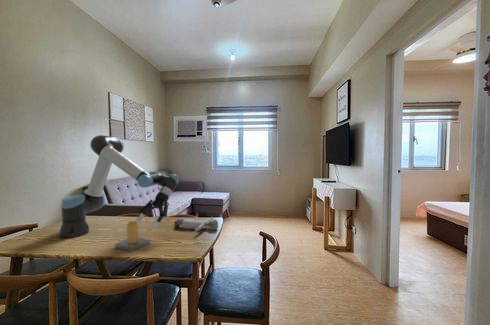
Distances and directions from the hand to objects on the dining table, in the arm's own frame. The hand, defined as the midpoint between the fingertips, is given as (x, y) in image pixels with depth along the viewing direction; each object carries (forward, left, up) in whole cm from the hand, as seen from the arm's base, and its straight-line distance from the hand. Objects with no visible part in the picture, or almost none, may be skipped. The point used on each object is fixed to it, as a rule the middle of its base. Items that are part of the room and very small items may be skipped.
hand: (145, 225), depth 129 cm
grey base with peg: (0, -8, -8) cm, 12 cm away
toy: (+16, +28, -9) cm, 34 cm away
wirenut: (0, -8, -6) cm, 11 cm away
